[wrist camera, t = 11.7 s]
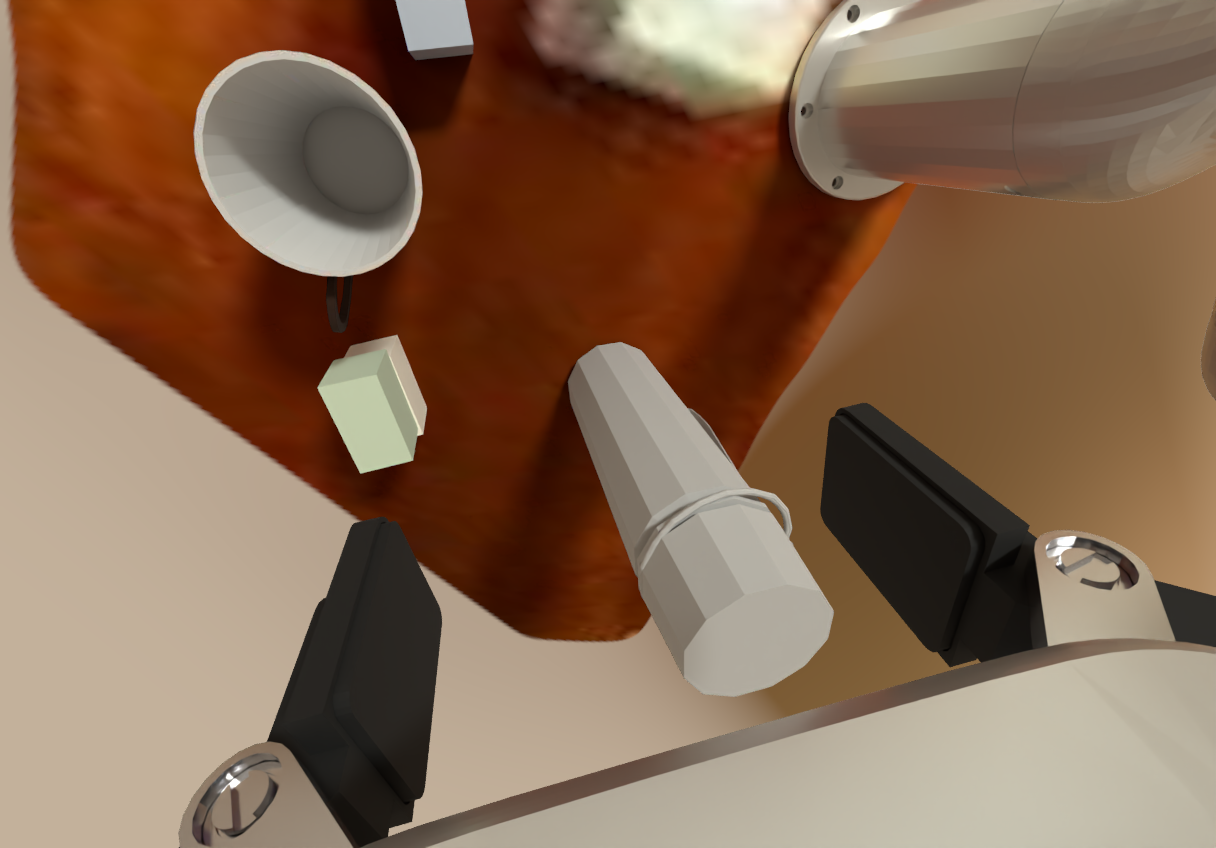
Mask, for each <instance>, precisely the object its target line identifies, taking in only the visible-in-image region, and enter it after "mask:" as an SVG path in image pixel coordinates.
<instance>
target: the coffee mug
mask: <svg viewBox="0 0 1216 848" xmlns="http://www.w3.org/2000/svg"><path fill="white" fill-rule="evenodd" d="M194 146H195V156H196V160H197V164H198V167H199V171H200V175H201V178H202V180H203V182H204V185H205V187H206V189H207V191H208V193H209V195H210V197H211V199H212V201H213V202H214V204H215V205H216V207H217V208H218V210H219V211H220V213H221V214H222V216H223V217H224V218H225V220H226V221H227V222H228V223H229V224H230V225H231V226H232V227H233V228H234V229H235V231H236V232H237V233H238V234H239V235H240V236H241V237H242V238H243V239H244V240H246V241H247V242H248V243H250V244H251V245H252V246H253V247H255V248H256V249H257V250H258V251H260V252H261V253H263V254H265V255H266V256H268V257H270V258H272V259H273V260H275V261H277V262H279V263H280V264H283V265H285V266H288V267H290V268H293V269H296V270H298V271H301V272H305V273H310V274H315V275H320V276H328V277H327V292H326V303H327V311H328V317H329V322H330V326H331V329H332V331H333V332H340V333H342V332H344V331H345V329H346V327H347V324H348V318H349V311H350V303H351V294H352V282H353V275H356V274H362V273H364V272H367V271H370V270H372V269H375V268H378V267H379V266H381V265H382V264H384V263H386V262H387V261H389V260H390V259H392V258H393V257H394V256H395V255H396V254H397V253H398V252H399V251H400V250H401V249H402V248H403V247H404V246H405V245H406V243H407V241H408V240H409V238H410V236H411V235H412V233H413V231H414V229H415V226H416V223H417V220H418V217H419V214H420V210H421V201H422V180H421V171H420V167H419V163H418V159H417V156H416V152H415V149H414V147H413V145H412V142H411V140H410V138H409V136H408V134H407V132H406V129H405V128H404V126H403V125H402V123H401V122H400V120H399V119H398V117H397V116H396V114H395V113H394V111H393V110H392V108H391V107H390V106H389V105H388V104H387V103H386V102H385V101H384V100H383V99H382V98H381V96H380V95H379V94H378V93H377V92H376V91H375V90H374V89H373V88H371V87H370V86H369V85H368V84H366V83H365V82H364V81H363V80H361V79H360V78H359V77H357V76H356V75H355V74H354V73H352V72H350V71H348V70H346V69H344V68H343V67H341V66H339V65H337V64H335V63H333V62H331V61H329V60H326V59H323V58H320V57H317V56H314V55H311V54H308V53H302V52H294V51H286V50H277V51H267V52H258V53H255V54H252V55H249V56H247V57H244V58H241V59H238V60H236V61H235V62H233V63H232V64H231V65H229V66H228V67H226V68H225V69H223V70H222V71H221V72H219V73H218V75H217V76H216V77H215V78H214V80H213V81H212V82H211V83H210V85H209V86H208V87H207V88H206V90H205V92H204V94H203V97H202V99H201V101H200V104H199V106H198V108H197V113H196V119H195V125H194ZM344 276H345V277H344ZM337 277H344V290H343V298H342V303H341V309H340V314H339V313H338V307H337Z"/></svg>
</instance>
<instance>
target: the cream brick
mask: <svg viewBox="0 0 1216 848" xmlns="http://www.w3.org/2000/svg"><path fill="white" fill-rule="evenodd" d="M383 349H386V350H387V353H388V355H389V358H390V360H391V362H392V365H393V367H394V370H395V372H396V375H397V377H398V380H399V382H400V385H401V387H402V390H403V392H404V395H405V397H406V400H407V402H408V405H409V407H410V409H411V412H412V414H413V417H414V419H415V422H416V424H417V427H418V434H417V436H419V435H423V431H424V425H425V418H426V412H427V407H426V404H425V402H424V400H423V397H422V395H421V392H420V390H419V387H418V385H417V382H416V380H415V377H414V375H413V372H412V370H411V368H410V365H409V363H408V360H407V358H406V355H405V353H404V350H403V348H402V345H401V343H400V340H399V338H398V336H397V335H394V336H390V337H386V338H382V339H377V340H373V341H369V342H365V343H360V344H356V345H352V346H350V348H349V349H348V351H347V353H346V355H345V357H344V358H347V357H351V356H356V355H360V354H365V353H369V352H374V351H378V350H383Z"/></svg>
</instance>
